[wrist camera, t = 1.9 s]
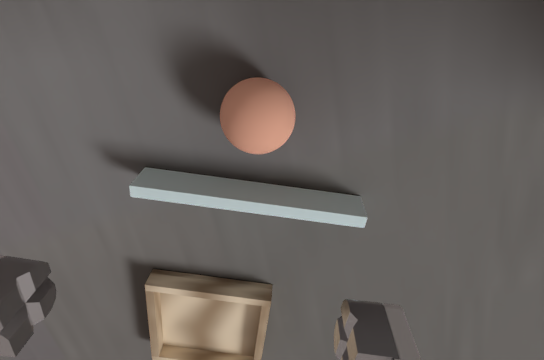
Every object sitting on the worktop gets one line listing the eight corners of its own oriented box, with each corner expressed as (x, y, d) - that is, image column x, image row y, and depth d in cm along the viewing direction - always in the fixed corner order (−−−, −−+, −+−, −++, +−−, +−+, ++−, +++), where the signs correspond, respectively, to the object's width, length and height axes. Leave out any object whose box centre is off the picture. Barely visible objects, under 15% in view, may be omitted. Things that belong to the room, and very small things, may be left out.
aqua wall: (360, 196, 28) (367, 217, 25) (357, 206, 28) (364, 228, 26) (144, 167, 28) (129, 185, 25) (145, 177, 28) (130, 196, 26)
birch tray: (272, 284, 34) (271, 301, 32) (260, 356, 39) (258, 374, 38) (152, 268, 33) (144, 284, 32) (158, 343, 39) (152, 360, 38)
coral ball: (300, 75, 23) (301, 94, 19) (289, 141, 26) (288, 172, 21) (229, 65, 23) (213, 83, 19) (225, 132, 26) (211, 161, 21)
